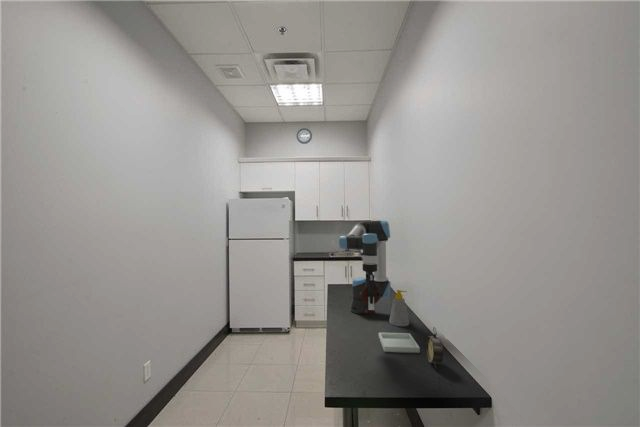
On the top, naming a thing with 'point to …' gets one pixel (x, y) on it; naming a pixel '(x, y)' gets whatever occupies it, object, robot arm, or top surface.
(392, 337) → the tray
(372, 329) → the top surface
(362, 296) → the ice cream bowl
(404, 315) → the soap bottle
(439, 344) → the alarm clock
